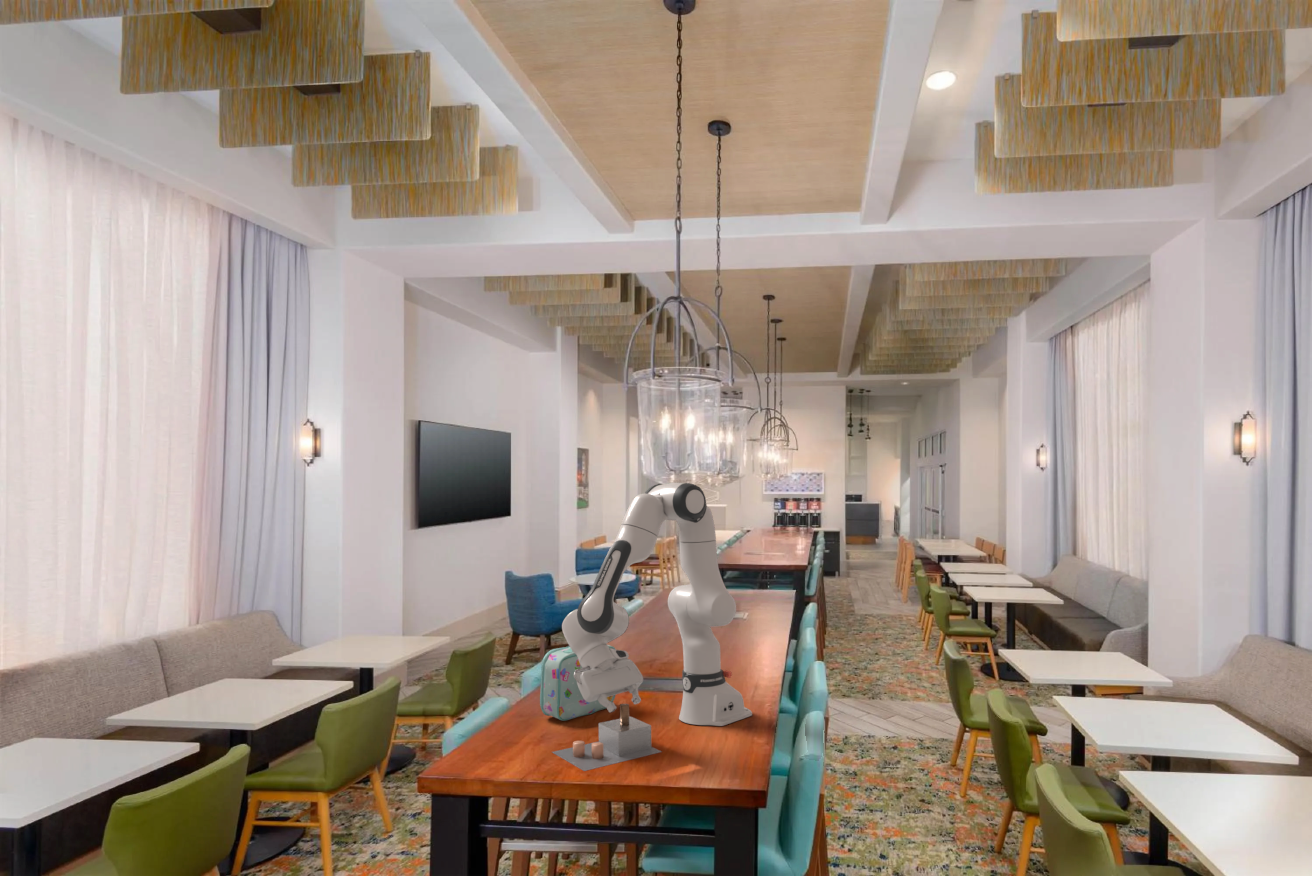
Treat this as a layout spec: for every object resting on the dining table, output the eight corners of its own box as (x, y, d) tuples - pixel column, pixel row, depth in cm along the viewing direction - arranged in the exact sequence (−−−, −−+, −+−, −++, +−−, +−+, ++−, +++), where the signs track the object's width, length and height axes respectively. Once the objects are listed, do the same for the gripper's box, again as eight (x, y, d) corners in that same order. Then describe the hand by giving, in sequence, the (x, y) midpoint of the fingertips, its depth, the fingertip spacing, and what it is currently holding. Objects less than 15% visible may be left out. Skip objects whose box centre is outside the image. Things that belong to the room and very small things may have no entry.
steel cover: (630, 739, 217) (630, 697, 218) (651, 748, 209) (650, 705, 210) (598, 746, 212) (598, 704, 212) (618, 756, 204) (618, 712, 204)
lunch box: (598, 700, 261) (597, 633, 262) (621, 705, 254) (620, 637, 255) (536, 720, 240) (536, 647, 241) (560, 726, 234) (559, 651, 235)
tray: (626, 739, 221) (626, 723, 221) (662, 756, 207) (661, 739, 207) (551, 756, 208) (551, 739, 208) (584, 776, 194) (584, 757, 194)
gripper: (576, 663, 208) (603, 708, 201) (630, 650, 224) (657, 691, 217) (565, 678, 211) (591, 723, 204) (619, 664, 226) (645, 705, 220)
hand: (625, 706), depth 211 cm, fingers open, 8 cm apart
